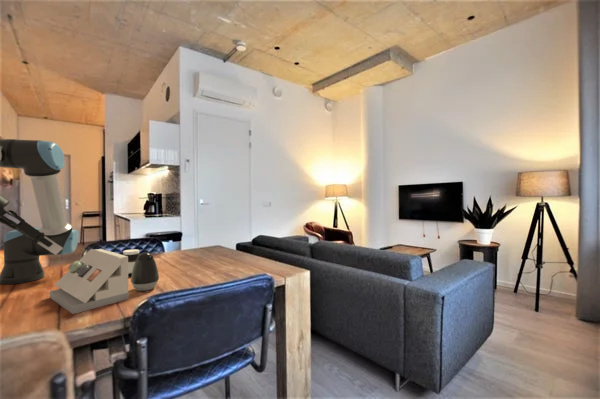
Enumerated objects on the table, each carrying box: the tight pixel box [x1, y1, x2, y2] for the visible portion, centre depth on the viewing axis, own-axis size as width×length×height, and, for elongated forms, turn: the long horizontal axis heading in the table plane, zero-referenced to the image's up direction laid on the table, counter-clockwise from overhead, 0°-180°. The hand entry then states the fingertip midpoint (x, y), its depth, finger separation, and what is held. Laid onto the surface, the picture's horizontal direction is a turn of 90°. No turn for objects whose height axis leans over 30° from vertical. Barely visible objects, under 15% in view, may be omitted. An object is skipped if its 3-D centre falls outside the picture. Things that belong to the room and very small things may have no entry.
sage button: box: [68, 260, 83, 273], centre depth 113 cm, size 4×4×4 cm
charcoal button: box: [76, 264, 91, 277], centre depth 108 cm, size 4×4×4 cm
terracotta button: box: [89, 270, 101, 281], centre depth 104 cm, size 4×4×4 cm
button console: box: [49, 248, 129, 315], centre depth 110 cm, size 25×17×17 cm
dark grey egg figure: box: [130, 252, 160, 292], centre depth 121 cm, size 10×10×15 cm
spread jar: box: [122, 249, 141, 277], centre depth 142 cm, size 12×11×12 cm
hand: (58, 251), depth 96 cm, fingers closed
